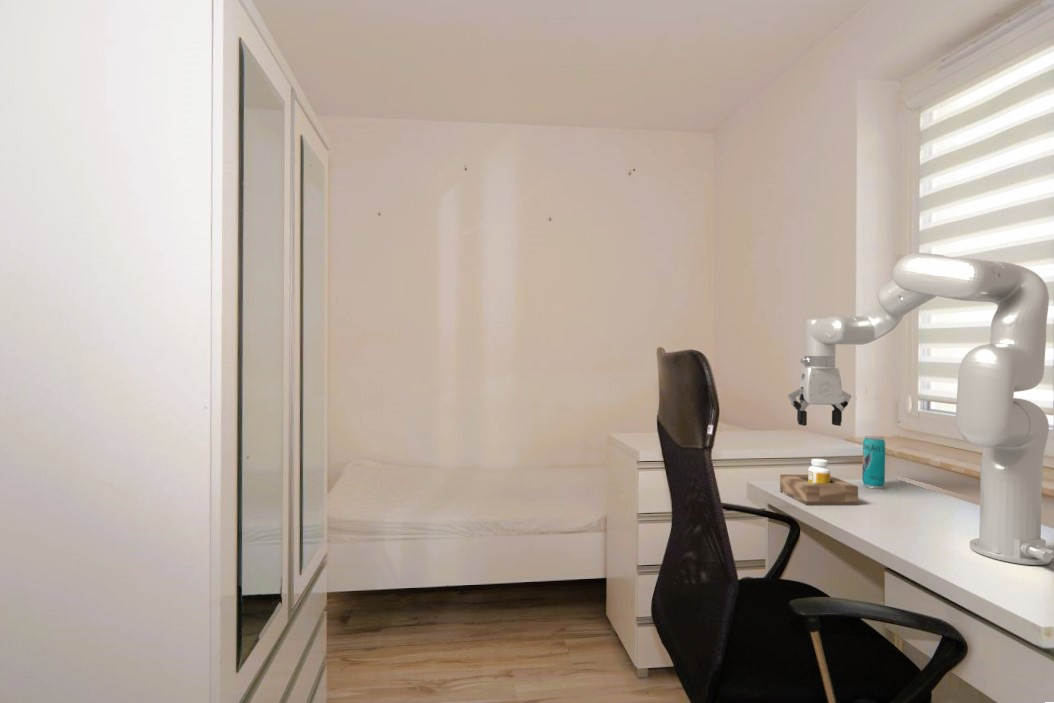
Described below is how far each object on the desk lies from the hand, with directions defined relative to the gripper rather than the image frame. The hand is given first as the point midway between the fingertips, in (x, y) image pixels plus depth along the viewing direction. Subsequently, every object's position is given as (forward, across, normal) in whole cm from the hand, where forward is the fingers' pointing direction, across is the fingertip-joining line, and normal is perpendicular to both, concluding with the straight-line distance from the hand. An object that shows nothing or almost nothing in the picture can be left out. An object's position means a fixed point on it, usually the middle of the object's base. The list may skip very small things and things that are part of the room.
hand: (819, 425), depth 158 cm
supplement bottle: (+19, 0, 0) cm, 19 cm away
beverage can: (+20, +25, +13) cm, 35 cm away
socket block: (+20, 0, 0) cm, 20 cm away
